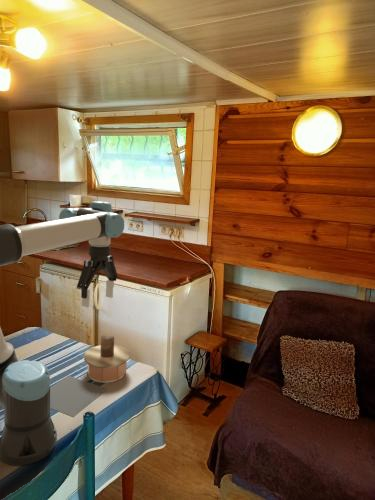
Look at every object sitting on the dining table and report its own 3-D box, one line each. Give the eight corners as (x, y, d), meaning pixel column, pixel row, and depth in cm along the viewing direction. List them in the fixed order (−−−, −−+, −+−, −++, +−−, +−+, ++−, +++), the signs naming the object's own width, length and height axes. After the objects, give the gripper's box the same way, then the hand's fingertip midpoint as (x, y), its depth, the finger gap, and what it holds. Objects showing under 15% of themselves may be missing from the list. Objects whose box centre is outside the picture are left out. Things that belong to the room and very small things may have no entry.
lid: (112, 372, 131) (113, 351, 130) (74, 360, 138) (74, 340, 136) (137, 353, 146) (138, 334, 145) (102, 343, 153) (102, 325, 152)
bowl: (111, 387, 135) (111, 369, 133) (80, 376, 140) (80, 359, 139) (131, 370, 147) (132, 353, 146) (103, 361, 153) (103, 345, 151)
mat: (73, 418, 117) (73, 417, 116) (30, 401, 124) (30, 400, 123) (107, 390, 133) (107, 389, 133) (68, 376, 140) (68, 375, 140)
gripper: (84, 251, 120) (82, 313, 124) (128, 242, 142) (125, 295, 146) (66, 247, 123) (65, 308, 127) (112, 239, 146) (110, 291, 149)
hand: (97, 301), depth 137 cm, fingers open, 13 cm apart
